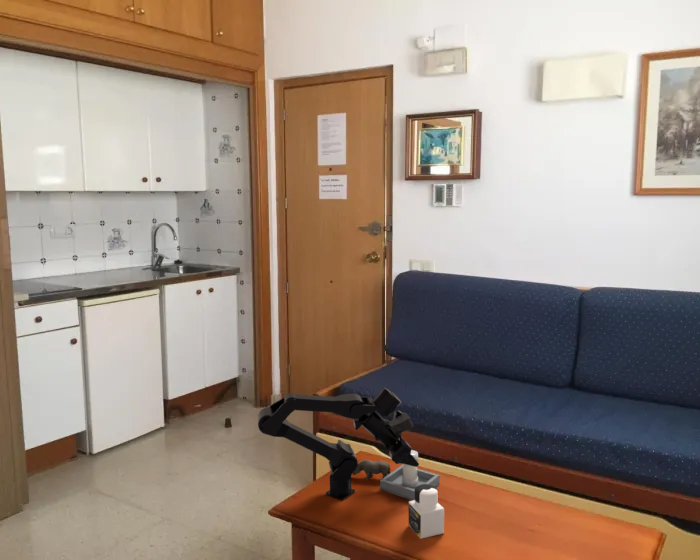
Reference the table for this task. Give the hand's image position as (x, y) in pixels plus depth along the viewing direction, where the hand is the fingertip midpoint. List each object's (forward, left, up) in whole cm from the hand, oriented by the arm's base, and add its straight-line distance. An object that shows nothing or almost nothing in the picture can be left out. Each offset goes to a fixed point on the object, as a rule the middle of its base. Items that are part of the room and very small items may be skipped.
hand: (414, 458), depth 193 cm
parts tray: (-1, +1, -9) cm, 9 cm away
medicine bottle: (-19, -15, -9) cm, 26 cm away
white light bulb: (-1, +1, -8) cm, 8 cm away
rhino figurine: (-3, +14, -9) cm, 17 cm away
